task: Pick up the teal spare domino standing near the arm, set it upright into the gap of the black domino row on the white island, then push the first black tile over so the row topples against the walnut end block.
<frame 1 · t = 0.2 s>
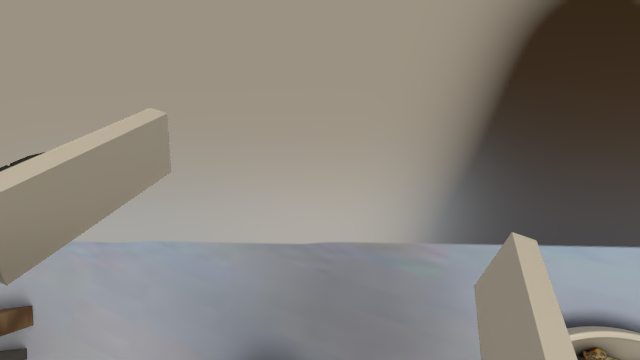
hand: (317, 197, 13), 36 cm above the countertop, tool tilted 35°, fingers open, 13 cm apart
end block: (11, 318, 54), on the countertop
domino 4: (13, 355, 54), on the countertop
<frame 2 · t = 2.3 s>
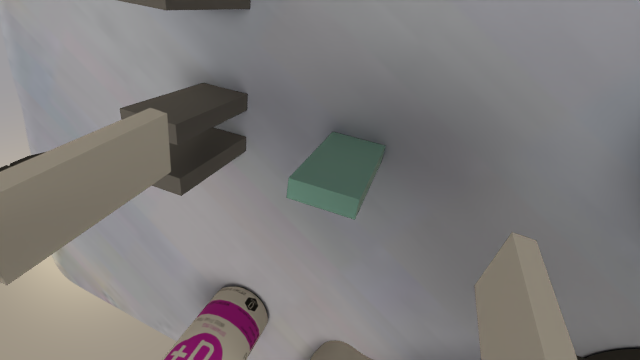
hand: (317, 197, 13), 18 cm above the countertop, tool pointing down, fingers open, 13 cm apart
domino 2: (225, 96, 33), on the countertop
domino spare: (357, 146, 31), on the countertop
domino 1: (225, 137, 36), on the countertop
supplement can: (244, 304, 47), on the countertop
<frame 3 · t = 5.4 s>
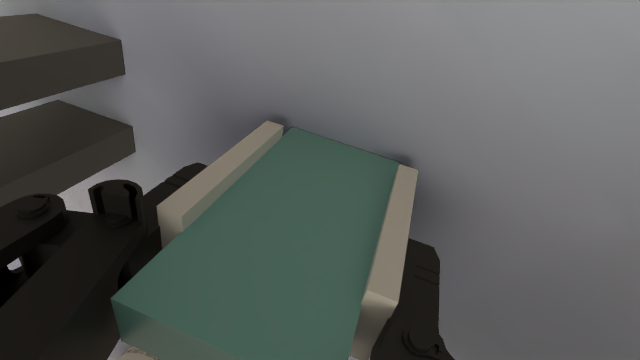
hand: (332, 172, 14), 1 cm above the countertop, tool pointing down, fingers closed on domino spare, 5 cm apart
domino 2: (80, 44, 17), on the countertop
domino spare: (340, 159, 15), on the countertop, touching gripper
domino 1: (96, 125, 19), on the countertop
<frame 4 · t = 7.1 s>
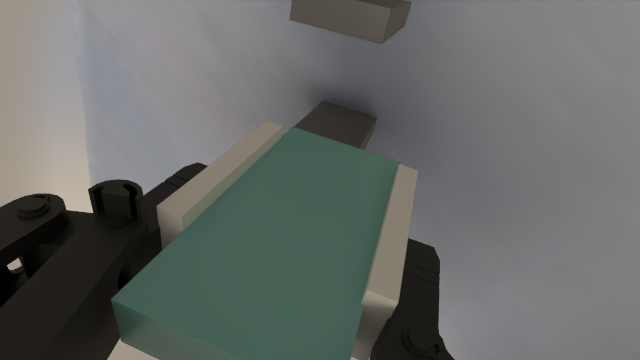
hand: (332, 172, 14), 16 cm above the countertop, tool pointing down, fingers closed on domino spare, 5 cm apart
domino 2: (347, 118, 30), on the countertop
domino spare: (341, 159, 15), point 15 cm above the countertop, touching gripper
domino 3: (374, 6, 25), on the countertop
when the fingers open (2 cm above the countertop, at t = 9.2 s): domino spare stays where it is, on the countertop.
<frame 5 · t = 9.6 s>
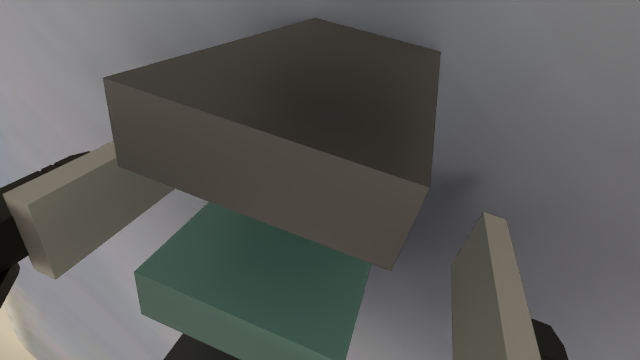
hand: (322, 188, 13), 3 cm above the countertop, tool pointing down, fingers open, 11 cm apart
domino 2: (325, 223, 18), on the countertop
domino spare: (343, 151, 16), on the countertop
domino 3: (370, 55, 13), on the countertop
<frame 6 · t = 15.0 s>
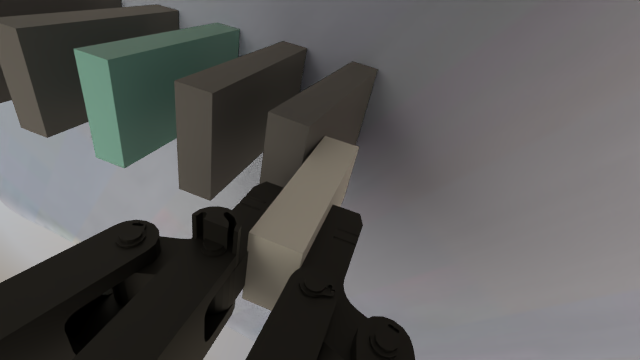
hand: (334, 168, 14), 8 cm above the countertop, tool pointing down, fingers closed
domino 2: (289, 84, 22), on the countertop
domino 4: (115, 30, 24), on the countertop
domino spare: (226, 65, 23), on the countertop
domino 1: (354, 105, 21), on the countertop
domino 3: (169, 47, 23), on the countertop
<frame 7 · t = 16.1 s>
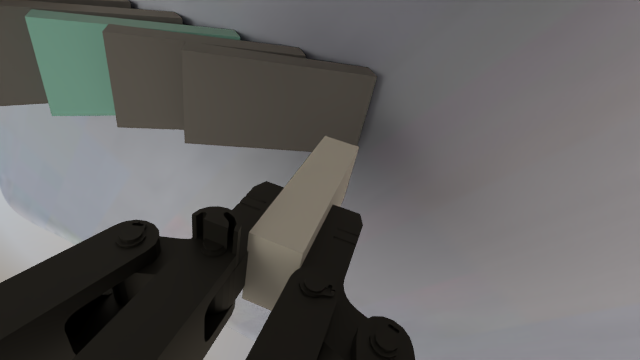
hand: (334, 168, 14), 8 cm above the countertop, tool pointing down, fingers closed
domino 2: (295, 92, 21), point 1 cm above the countertop, tilted 55°, touching domino 1, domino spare
domino 4: (128, 38, 23), on the countertop, tilted 21°, touching domino 3, end block
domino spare: (235, 73, 22), point 1 cm above the countertop, tilted 47°, touching domino 2, domino 3
domino 1: (361, 112, 20), point 1 cm above the countertop, tilted 60°, touching domino 2
domino 3: (179, 55, 23), on the countertop, tilted 35°, touching domino 4, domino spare
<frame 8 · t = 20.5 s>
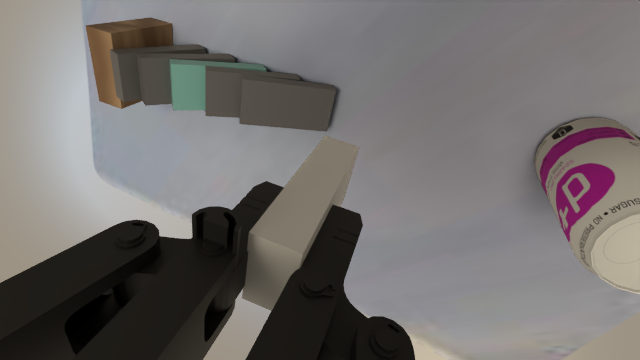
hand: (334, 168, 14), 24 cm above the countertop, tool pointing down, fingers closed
domino 2: (295, 97, 39), point 1 cm above the countertop, tilted 55°, touching domino 1, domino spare
end block: (163, 54, 43), on the countertop
domino 4: (201, 67, 42), on the countertop, tilted 21°, touching domino 3, end block
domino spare: (262, 87, 40), point 1 cm above the countertop, tilted 47°, touching domino 2, domino 3
domino 1: (329, 108, 39), point 1 cm above the countertop, tilted 60°, touching domino 2
supplement can: (580, 153, 34), on the countertop
domino 3: (231, 77, 41), on the countertop, tilted 35°, touching domino 4, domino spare
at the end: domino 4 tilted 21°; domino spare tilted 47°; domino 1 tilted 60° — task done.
